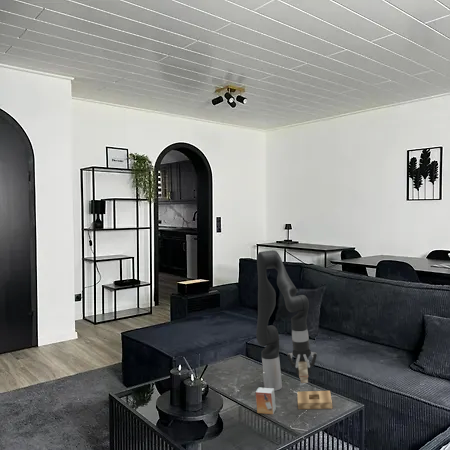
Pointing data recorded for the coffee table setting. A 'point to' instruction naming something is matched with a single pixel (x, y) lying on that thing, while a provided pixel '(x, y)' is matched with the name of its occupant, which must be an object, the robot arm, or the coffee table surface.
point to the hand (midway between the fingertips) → (303, 374)
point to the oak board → (314, 400)
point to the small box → (265, 400)
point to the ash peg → (303, 371)
